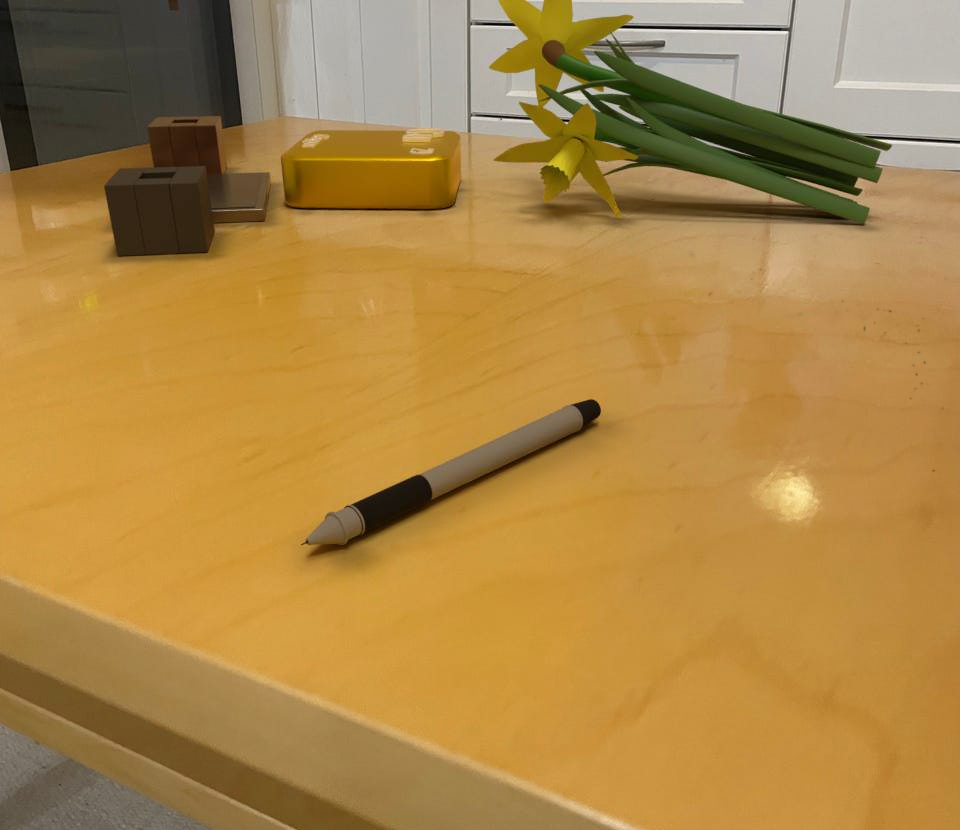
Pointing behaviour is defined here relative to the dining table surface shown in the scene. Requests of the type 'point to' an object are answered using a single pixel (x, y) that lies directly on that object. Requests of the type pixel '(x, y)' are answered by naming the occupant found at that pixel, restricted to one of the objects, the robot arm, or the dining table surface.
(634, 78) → the daffodil flowers
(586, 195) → the dining table surface
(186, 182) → the holder
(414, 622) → the dining table surface
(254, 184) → the tablet
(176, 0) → the tan wooden bar
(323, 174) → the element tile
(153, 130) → the stand
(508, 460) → the pen
